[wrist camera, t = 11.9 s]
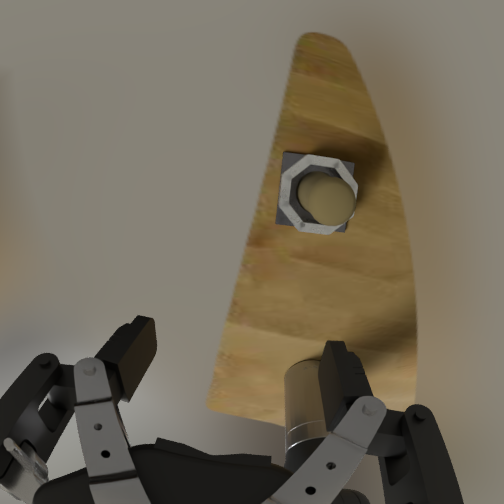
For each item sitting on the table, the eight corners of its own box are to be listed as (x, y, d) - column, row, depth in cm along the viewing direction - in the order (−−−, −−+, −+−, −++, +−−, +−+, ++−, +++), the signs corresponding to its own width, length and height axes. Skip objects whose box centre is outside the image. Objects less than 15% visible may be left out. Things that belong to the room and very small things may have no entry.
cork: (288, 182, 36) (294, 189, 26) (327, 163, 35) (349, 163, 24) (307, 221, 37) (320, 243, 27) (345, 203, 36) (372, 218, 26)
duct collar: (343, 231, 38) (350, 237, 35) (275, 223, 38) (275, 228, 35) (353, 163, 35) (361, 163, 32) (283, 152, 35) (284, 150, 32)
